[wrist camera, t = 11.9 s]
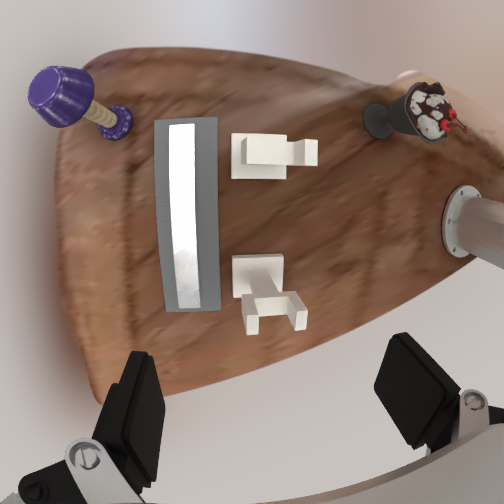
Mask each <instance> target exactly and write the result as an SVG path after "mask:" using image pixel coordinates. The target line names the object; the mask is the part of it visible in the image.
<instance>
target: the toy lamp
mask: <svg viewBox="0 0 504 504" xmlns="http://www.w3.org/2000/svg"><path fill="white" fill-rule="evenodd" d="M93 98H94V82H93V79H92V78H91V76H90V75H89V74H88V73H87V72H86V71H84V70H81V69H77V68H71V67H64V66H50V67H47V68H45V69H43V70H41V72H39V73H38V74H37V75H36V76H35V77H34V79H33V80H32V82H31V84H30V87H29V90H28V101H29V103H30V105H31V107H32V108H33V109H34V110H35V111H36V112H37V113H38V114H39V115H40V116H41V117H42V118H43V119H44V120H45V121H46V122H47V123H48V124H49V125H51V126H54V127H57V128H63V127H68V126H70V125H72V124H74V123H75V122H77V121H78V120H80V119H81V118H82V117H86V118H87V119H89V120H92V121H93V122H95V123H98V124H99V130H100V133H101V134H102V136H103V137H104V138H106V139H108V140H119V139H121V138H123V137H125V136H126V135H127V134H128V133H129V131H130V129H131V127H132V124H133V117H132V113H131V112H130V110H129V109H128V108H126V107H124V106H113V107H110V108H108V109H106V108H105V107H104V106H102V105H101V104H99V103H98V102H95V101H94V100H93Z"/></svg>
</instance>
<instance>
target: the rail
mask: <svg viewBox="0 0 504 504" xmlns="http://www.w3.org/2000/svg"><path fill="white" fill-rule="evenodd" d="M195 146H196V127H195V125H194V124H184V125H170V136H169V164H170V202H171V223H172V239H173V252H174V264H175V275H176V285H177V295H178V303H179V308H201V290H200V276H199V259H198V239H197V214H196V160H195Z"/></svg>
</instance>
